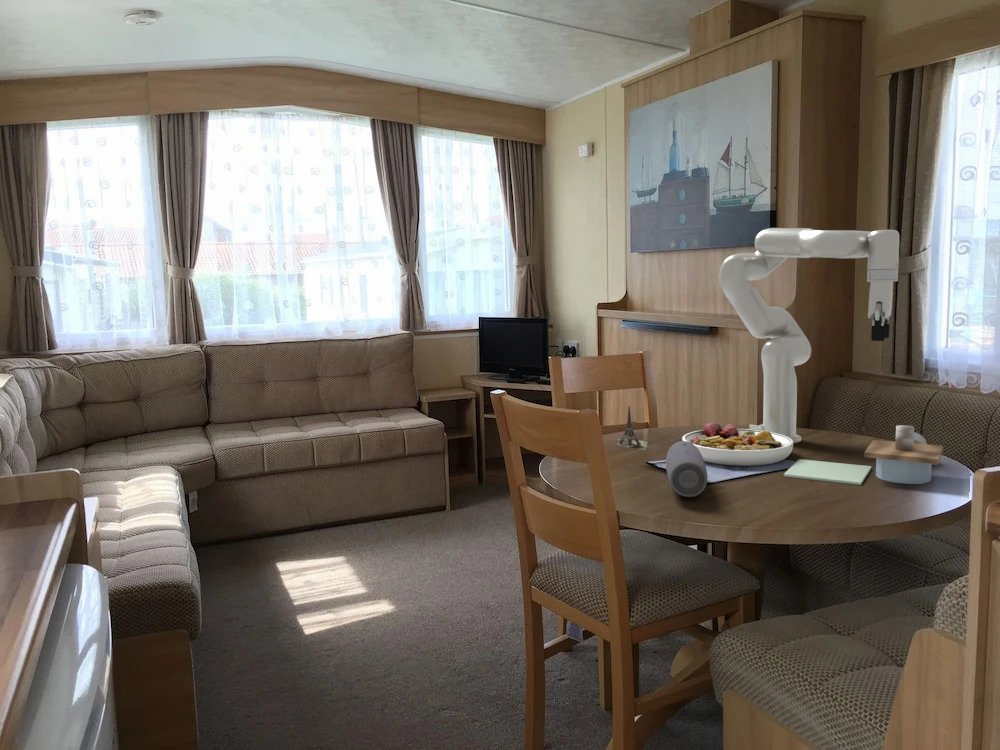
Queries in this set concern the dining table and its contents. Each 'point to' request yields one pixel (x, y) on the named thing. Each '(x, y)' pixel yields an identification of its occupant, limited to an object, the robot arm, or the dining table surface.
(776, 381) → the robot arm
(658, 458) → the dining table surface
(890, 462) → the slate bowl
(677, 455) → the bluetooth speaker
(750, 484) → the dining table surface
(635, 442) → the eiffel tower figurine
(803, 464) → the green mat
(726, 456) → the bowl
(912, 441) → the walnut lid
